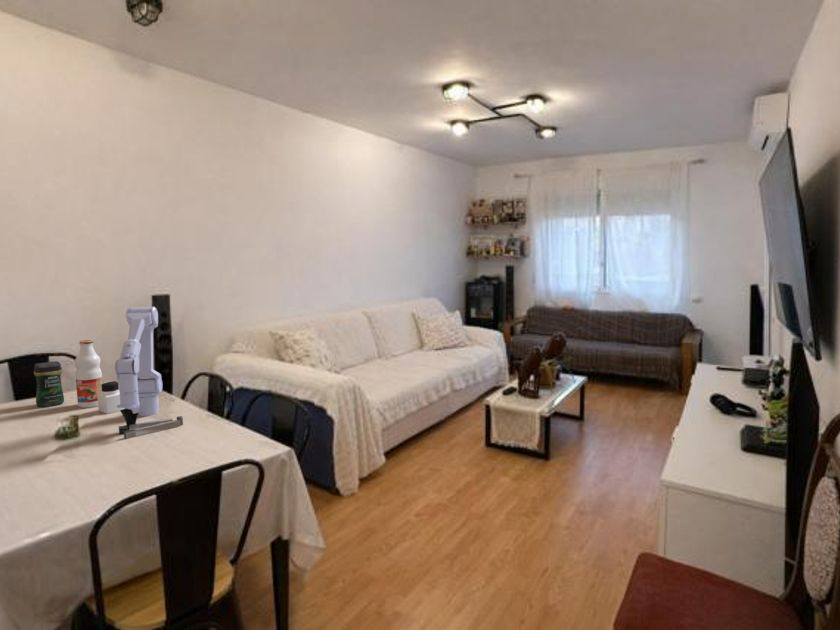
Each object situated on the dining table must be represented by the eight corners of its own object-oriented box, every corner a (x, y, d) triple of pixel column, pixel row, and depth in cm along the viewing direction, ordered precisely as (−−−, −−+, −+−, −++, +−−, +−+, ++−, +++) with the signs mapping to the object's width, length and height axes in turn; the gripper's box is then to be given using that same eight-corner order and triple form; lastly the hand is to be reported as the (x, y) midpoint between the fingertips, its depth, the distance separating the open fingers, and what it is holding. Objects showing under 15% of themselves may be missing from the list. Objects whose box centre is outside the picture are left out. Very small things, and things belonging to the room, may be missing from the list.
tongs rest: (108, 434, 179) (107, 422, 178) (172, 420, 194) (172, 409, 194) (123, 447, 166) (122, 435, 166) (191, 431, 182) (190, 419, 181)
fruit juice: (109, 403, 217) (104, 339, 213) (87, 409, 208) (82, 343, 205) (94, 400, 220) (89, 338, 217) (72, 406, 211) (67, 341, 208)
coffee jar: (39, 409, 208) (35, 365, 206) (34, 405, 213) (30, 362, 211) (67, 403, 216) (63, 361, 213) (61, 400, 221) (57, 359, 218)
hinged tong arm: (172, 424, 185) (172, 418, 184) (172, 425, 183) (172, 419, 183) (119, 432, 176) (118, 426, 176) (119, 434, 175) (118, 427, 174)
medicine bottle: (125, 409, 208) (123, 381, 206) (107, 414, 202) (104, 385, 200) (116, 406, 211) (114, 379, 210) (98, 411, 205) (96, 382, 204)
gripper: (110, 389, 179) (112, 426, 181) (122, 397, 169) (125, 436, 171) (132, 386, 184) (134, 421, 186) (145, 393, 174) (147, 431, 176)
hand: (131, 428), depth 179 cm, fingers closed
